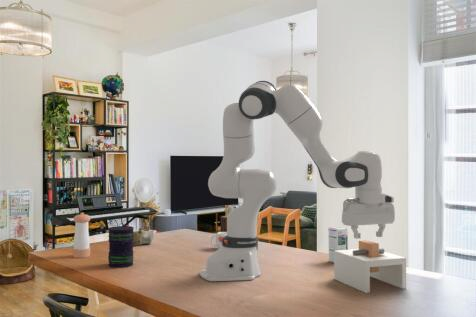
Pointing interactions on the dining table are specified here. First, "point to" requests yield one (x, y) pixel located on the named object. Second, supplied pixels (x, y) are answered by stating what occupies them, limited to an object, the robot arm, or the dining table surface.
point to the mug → (218, 239)
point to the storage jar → (121, 246)
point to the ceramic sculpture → (142, 237)
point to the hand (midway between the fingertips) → (368, 237)
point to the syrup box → (337, 240)
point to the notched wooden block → (370, 251)
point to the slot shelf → (368, 268)
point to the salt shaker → (81, 236)
